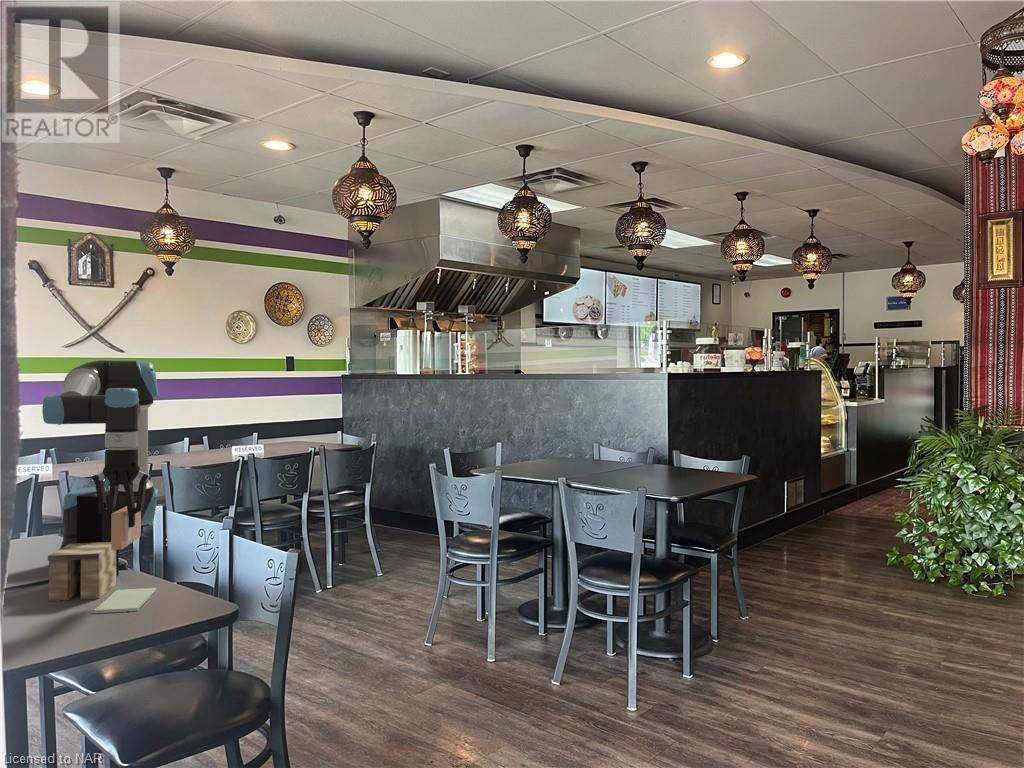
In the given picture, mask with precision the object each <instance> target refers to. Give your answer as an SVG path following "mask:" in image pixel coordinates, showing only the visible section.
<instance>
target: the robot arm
mask: <svg viewBox="0 0 1024 768" xmlns="http://www.w3.org/2000/svg"><path fill="white" fill-rule="evenodd" d="M158 388H159V387H158V380H157V373H156V368H155V366H154V364H153V363H152V362H150V361H146V360H145V361H144V360H103V359H102V360H93V361H90V362H86V363H82V364H80V365H78V366H76V367H74V368H73V369H71V370H70V371H69V372H67V374H66V375H65V377H64V380H63V388H62V390H61V392H60V393H59V394H54V395H53V394H52V395H46V396H45V397H44V398H43V400H42V409H41V410H42V420H43V422H44V423H45V424H47V425H58V426H61V425H83V424H84V425H85V424H87V425H88V424H89V425H91V424H99V425H100V424H105V429H104V431H105V432H104V447H105V448H107V449H106V450H104V467H103V470H102V471H101V472H99V473H96V474H93V475H92V476H91V480H93V483H94V486H92V487H85V488H84V487H83V488H79V489H77V490H72V491H69V492H68V493H66V494H65V495H64V497H63V503H62V507H61V508H62V513H63V516H62V517H63V518H62V519H63V523H62V525H63V527H62V532H63V533H62V542H61V544H60V547H59V549H61V548H63V547H65V546H67V545H68V544H75V543H77V496H79V495H83V494H88V493H92V492H96V493H97V500H98V508H99V513H103V514H106V515H107V527H108V528H111V534H112V513H114V512H116V511H115V508H116V500H117V493H118V492H119V510H120V509H122V508H124V507H126V506H127V511H128V513H127V515H125V541H129V540H130V539H131V527H134V526H135V514H136V513H138V512H140V511H141V526H144V525H150V524H152V523H153V522H154V520H155V515H156V509H157V501H158V494H159V489H158V488H156V487H154V483H153V482H152V481H151V480H150V477H151V473H149V408H150V407H151V406H152V405H154V399H157V398H158V397H159V389H158ZM105 479H107V481H109V490H107V488H106V487H105V483H104V482H105ZM95 485H96V488H95ZM105 492H109V500H108V507H107V503H106V495H105ZM135 503H136V508H135Z"/></svg>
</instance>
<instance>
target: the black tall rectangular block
mask: <svg viewBox="0 0 1024 768" xmlns="http://www.w3.org/2000/svg"><path fill="white" fill-rule="evenodd" d="M94 487H95V488H96V485H95V484H94ZM105 495H106V503H107V507H108V500H109V492H105ZM118 510H119V492H118V493H117V500H116V508H115V511H118ZM103 542H111V528H108V527H107V515H106V514H103V513H99V508H98V500H97V493H96V492H92V493H88V494H83V495H79V496H77V543H103ZM119 553H120V551H119V550H116V577H118V576H119V567H120V566H119V561H120V559H119Z"/></svg>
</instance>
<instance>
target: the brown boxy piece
mask: <svg viewBox="0 0 1024 768" xmlns="http://www.w3.org/2000/svg"><path fill="white" fill-rule="evenodd" d="M47 561H48V602H56V601H57V602H59V601H60V600H63V601H68V600H70V599H71V598H72V597H73V596H75V595H76V594H78V593H79V592H80V600H81V601H82V600H98V599H100V598H102V597H103V596H104V595H105V594H107V592H109V591H110V590H111V589H113V588H114V587H115V586H116V585H117V576H116V550H111V542H103V543H75V544H68V545H67V546H65V547H63V548H61V549H60V548H59V549H58V550H55V552H54V551H53V552H52V553H51V554H49V555H47ZM69 598H70V599H69ZM60 602H61V601H60Z"/></svg>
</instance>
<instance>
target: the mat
mask: <svg viewBox="0 0 1024 768" xmlns="http://www.w3.org/2000/svg"><path fill="white" fill-rule="evenodd" d="M156 590H157V591H158V587H149V588H146V587H145V588H129V589H125V588H124V589H116V590H115V591H114V592H113V593H112V594H111V595H109V596H108V597H107V598H106V599H105V600H104V601H103V602H102V603H100V604H99V605H98V606H97V607H96V608H94V609H93V614H106V613H110V614H111V613H127V611H129V612H138V611H139V610H140V609H141V608H142V607H143V606H144V605H145V604H146V603H147V602H146V601H147V600H148V599H149V600H150V599H151V597H152V596H153V595H154V594H155V593H156V592H157V591H156ZM155 591H156V592H155ZM154 592H155V593H154ZM153 593H154V594H153ZM152 594H153V595H152ZM151 595H152V596H151ZM150 596H151V597H150ZM149 600H148V601H149ZM145 602H146V603H145ZM144 603H145V604H144ZM143 604H144V605H143ZM142 605H143V606H142ZM141 606H142V607H141ZM140 607H141V608H140ZM139 608H140V609H139ZM138 609H139V610H138ZM137 610H138V611H137Z"/></svg>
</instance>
